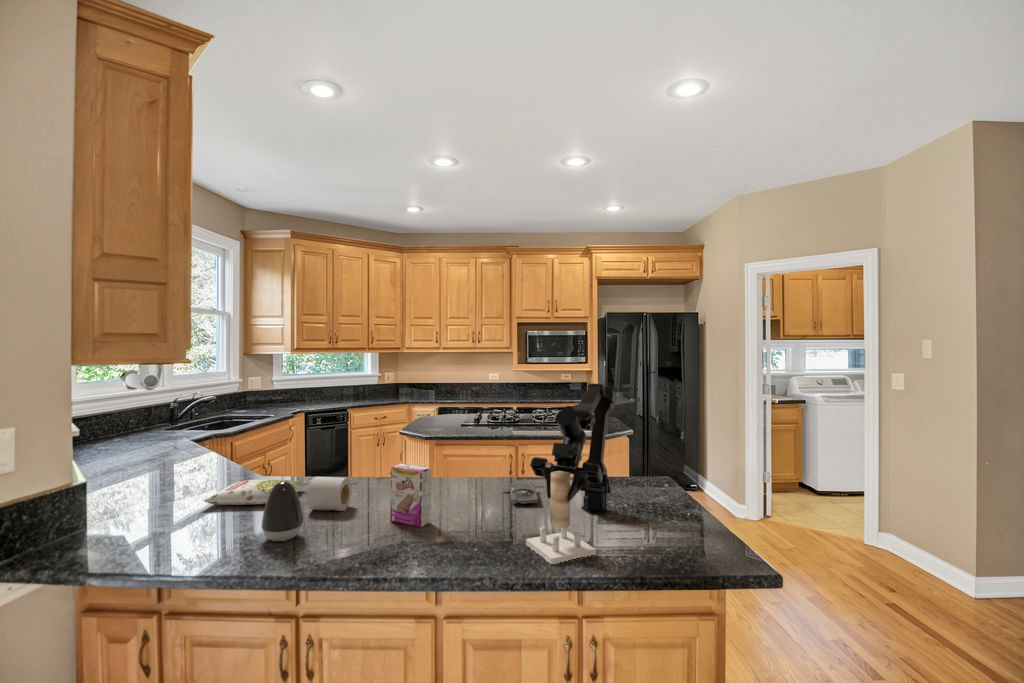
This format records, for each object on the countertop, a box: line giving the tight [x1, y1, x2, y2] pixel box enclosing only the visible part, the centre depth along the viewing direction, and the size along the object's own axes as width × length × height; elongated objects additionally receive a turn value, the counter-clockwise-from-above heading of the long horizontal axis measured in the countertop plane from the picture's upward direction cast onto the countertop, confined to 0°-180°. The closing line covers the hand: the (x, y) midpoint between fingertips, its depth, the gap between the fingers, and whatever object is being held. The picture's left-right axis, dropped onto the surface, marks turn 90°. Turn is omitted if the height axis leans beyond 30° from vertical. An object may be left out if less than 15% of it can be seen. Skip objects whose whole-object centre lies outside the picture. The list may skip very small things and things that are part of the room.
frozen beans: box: [201, 479, 305, 506], centre depth 167 cm, size 21×6×25 cm
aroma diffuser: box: [261, 481, 304, 542], centre depth 135 cm, size 10×10×15 cm
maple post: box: [549, 471, 571, 529], centre depth 129 cm, size 5×5×13 cm
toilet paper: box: [306, 476, 353, 512], centre depth 158 cm, size 10×10×10 cm
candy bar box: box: [389, 463, 431, 528], centre depth 147 cm, size 11×5×16 cm, turn 65°
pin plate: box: [525, 526, 597, 565], centre depth 129 cm, size 13×13×5 cm
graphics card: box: [501, 482, 539, 505], centre depth 170 cm, size 17×4×12 cm
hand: (558, 499), depth 127 cm, fingers closed on maple post, 5 cm apart
